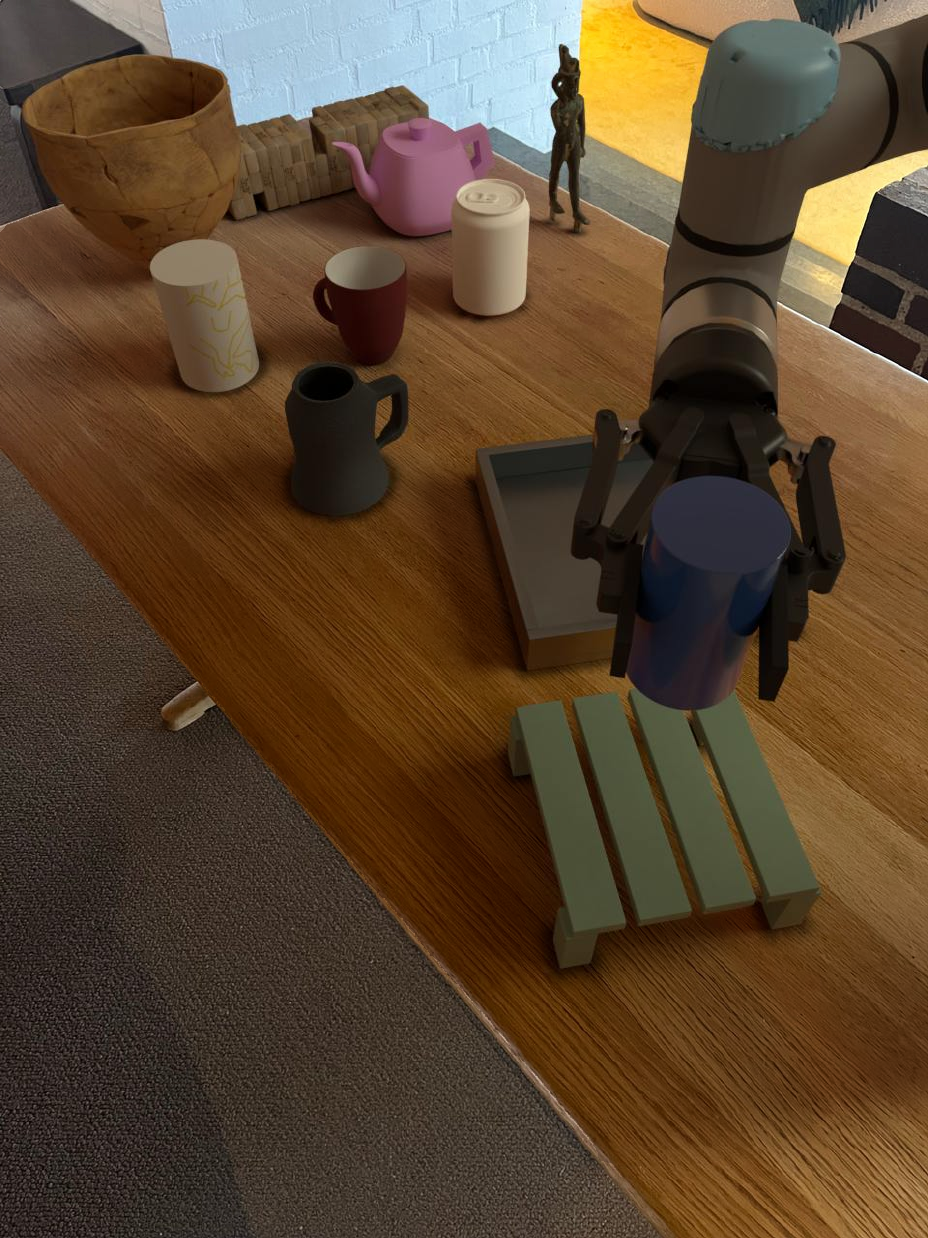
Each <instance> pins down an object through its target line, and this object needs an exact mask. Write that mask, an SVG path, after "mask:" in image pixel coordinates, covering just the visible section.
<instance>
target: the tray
mask: <svg viewBox="0 0 928 1238" xmlns="http://www.w3.org/2000/svg"><path fill="white" fill-rule="evenodd" d="M593 434H594V433H593ZM593 434H591V433H590V434H584V435H576V436H569V437H560V438H551V439H545V440H537V441H536V440H535V441H530V442H529V441H527V442H521V443H513V444H504V445H496V446H489V447H481V448H476V449H475V485H476V489H477V492H478V496H479V500H480V504H481V507H482V512H483V514H484V519H485V522H486V526H487V529H488V533H489V536H490V540H491V544H492V548H493V552H494V555H495V559H496V563H497V566H498V569H499V572H500V577H501V580H502V584H503V588H504V591H505V596H506V598H507V602H508V603H507V604H508V606H509V610H510V613H511V614H510V615H511V617H512V622H513V624H514V628H515V632H516V635H517V636H516V637H517V639H518V643H519V646H520V650H521V654H522V658H523V661H524V665H525V668H526V671H528V672H530V671H535V670H542V669H548V668H549V669H550V668H555V667H556V668H557V667H562V666H568V665H569V666H570V665H575V664H582V663H590V662H596V661H603V660H609V659H612V653H613V645H614V638H615V630H616V622H617V615H616V614H609V613H603V612H599V611H598V608H597V605H596V602H597V595H598V589H599V582H600V575H601V566H600V564H599V563H598V562H597V561H596V560H594V559H592V558H588V559H585V560H579V559H577V558H575V557H573V556H572V554H571V542H572V533H573V525H574V517H575V514H576V511H577V508H578V505H579V501H580V498H581V495H582V492H583V489H584V485H585V482H586V479H587V476H588V473H589V469H590V466H591V463H592V460H593V457H594V455H593V451H592V443H593ZM653 463H654V461H653V460H652V459H651V458H650V457H649V456H648V454H647V453H646V452H645V451H644V450H643V449H642V448H641V446H640V445H639V444H638V442H637V443H634V444H632V445H631V446H630V451H629V452H628V453H627V454H625V455H624V456H623V460H621V461H617V467H616V473H615V477H614V481H613V484H612V488H611V491H610V495H609V498H608V502H607V505H606V509H605V512H604V516H603V519H602V523H601V525H604V526H606V527H609V528H610V526H611V525H612V523H613V522H614V520H615V519H616V517H617V516H618V515H619V513H620V512H621V510H622V509H623V507H624V506H625V504H626V503H627V501H628V500H629V498H630V497H631V495H632V494H633V492H634V491H635V489H636V488H637V486H638V485H639V483H640V482H641V480H642V479H643V478H644V476H645V475H646V473H647V472H648V470H649V469H650V467H651V466H652V464H653ZM646 537H647V534H646V536H645V537H644V539H643V540H642V542H641V543H640V544H641V545H644V546H643V552H644V547H645V542H646ZM642 557H643V554H642ZM755 637H759V627H758V630H757V632H756V635H755Z"/></svg>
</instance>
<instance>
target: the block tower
mask: <svg viewBox="0 0 928 1238" xmlns="http://www.w3.org/2000/svg"><path fill="white" fill-rule="evenodd" d="M429 110H430V109H429V105H428V104H427V103H426V102H425V101H423V99H421V98H420V97H419V96H417V94H415V93H414V92H413V91H411V90H410V89H409V88H408V87H407V86H405V85H404V84H402V85H398V86H391V87H390V86H389V87H386V88H384V90H379V91H375V92H374V93H371V94H367V95H364V96H363V95H361V96H357V97H354V98H347V99H345V100H337V101H335V102H331V103H328V104H324V105H323V106H322V105H318V106H314V107H312V108H311V115H312V117H311V118H309V119H308V124H309V129H310V134H311V135H310V134H309V132H308V131H306V129H304V127H303V126H302V125H301V124H300V123H299V122H298V121H297V119H296V118H295V117H294V116H292V115H291V114H290V113H288V114H284V115H281V116H277V117H272V118H269V119H265V120H261V121H258V122H252V123H248V124H246V123H244V124H239V125H237V128H238V132H239V135H240V139H241V163H240V171H239V176H238V180H237V184H236V187H235V190H234V193H233V196H232V198H231V201H230V204H229V206H228V209H227V211H226V213H227V212H229V213H230V214H231V215H232V217H233V218H234V220H235V221H239V220H242V219H245V218H246V217H247V218H248V217H252V216H256V215H257V214H258V212H257V207H256V203H255V198H254V195H255V197H256V198H257V199H258V200H259V202H261V204H262V206H263V207H264V208H265V209H266V210H267V211H269V212H271V211H274V210H277V209H279V208H284V207H287V206H290V207H291V206H295V205H298V204H300V202H306V201H310V200H315V199H319V198H321V197H327V196H330V195H332V194H338V193H342V192H343V191H344V192H345V191H348V190H351V189H356V187H355V184H354V180H353V176H352V170H351V165H350V162H349V159H348V157H347V155H346V154H345V153H344V152H343V151H342V150H341V149H339V148H338V147H336V146H334V145H333V144H332V143H333V142H346V143H350V144H352V145H354V146H355V147H356V148H357V149H358V150H359V152H360V154H361V157H362V160H363V164H364V168H365V171H366V173H367V174H368V175H369V172H370V166H371V161H372V157H373V154H374V151H375V148H376V146H377V143H378V140H379V138H380V136H381V134H382V132H383V131H384V130H385V129H386V128H387V127H390V126H393V125H396V124H400V123H405V122H409V121H410V120H412V119H415V118H425V119H430V111H429Z"/></svg>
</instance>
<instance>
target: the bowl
mask: <svg viewBox="0 0 928 1238" xmlns="http://www.w3.org/2000/svg"><path fill="white" fill-rule="evenodd" d="M231 93H232V92H231V87H230V85H229V79H228V77H227V76H226V74H225V73H224V71H222V70H221V69H219V68H216V67H214V66H211V65H209V64H207V63H204V62H201V61H195V60H191V59H188V58H179V57H170V56H165V55H160V54H159V55H157V54H129V55H123V56H120V57H113V58H109V59H106V60H102V61H98V62H94V63H90V64H86V65H83V66H81V67H79V68H75V69H73V70H71V71H69V72H67V73H66V74H64V75H62V76H61V77H60V78H58V79H55V80H53V81H50V82H49V83H47V84H45V85H43V86H42V87H41V86H40V88H38V89H37V90H36V91H34V92H33V93H32V94H30V95H29V96H28V97H27V98H26V99H25V100H24V101H23V103H22V105H21V115H22V118H23V121H24V123H25V125H26V127H27V129H28V130H29V132H30V134H31V139H32V141H33V143H34V146H35V147H34V148H35V152H36V158H37V163H38V166H39V169H40V171H41V173H42V175H43V178H44V179H45V181H46V183H47V184H48V187H49V188H50V189H51V192H53V194H54V195H55V196H56V197H57V199H58V200H59V201H60V202H61V203H62V204H63V206H64V207H65V208H66V209H67V211H68V212H69V213H70V214H71V215H72V216H73V217H74V218H75V220H76V221H77V222H78V223H79V224H80V225H81V226H82V227H84V228H85V229H86V230H87V231H88V232H90V233H91V234H92V235H93V236H94V237H96V238H97V239H98V240H100V241H101V242H104V243H105V244H106V245H108V246H110V247H111V248H113V249H115V250H116V251H117V252H119V253H120V254H122V255H124V256H125V257H126V258H128V259H129V260H130V261H132V262H133V263H135V264H137V265H139V266H140V267H142V268H144V269H147V270H149V271H150V263H151V261H152V259H153V258H154V256H155V255H156V254H157V253H159V252H160V251H161V250H163V249H165V248H166V247H168V246H171V245H173V244H176V243H179V242H183V241H188V240H197V239H206V240H210V237H211V235H212V234H213V232H214V231H215V230H216V228H217V227H218V226H219V223H220V222H221V221H222V220H223V217H224V216H225V215H226V213H227V212H226V211H227V209H228V206H229V204H230V201H231V198H232V196H233V193H234V190H235V187H236V184H237V180H238V176H239V171H240V163H241V139H240V135H239V132H238V128H237V126H238V125H237V122H236V117H235V113H234V109H233V102H232V97H231Z"/></svg>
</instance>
